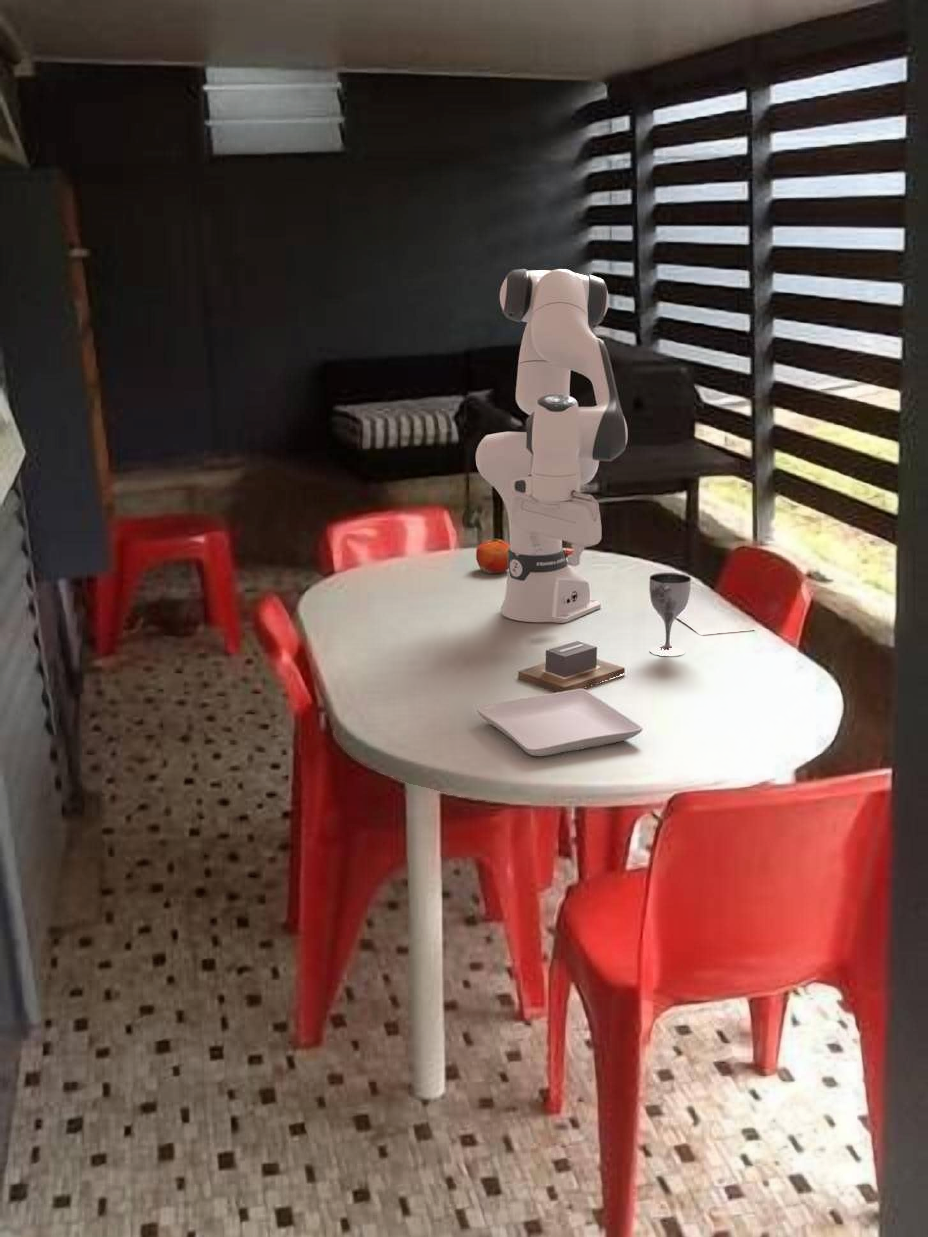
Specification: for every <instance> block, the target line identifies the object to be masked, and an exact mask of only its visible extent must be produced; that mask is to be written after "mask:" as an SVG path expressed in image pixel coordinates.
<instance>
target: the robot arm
mask: <svg viewBox="0 0 928 1237" xmlns="http://www.w3.org/2000/svg"><path fill="white" fill-rule="evenodd" d="M608 292H609V291H608V287H607V284H606V282H605V281H604V279H602V278H601V277H597V276H595V275H592V274H588V275H584V274H582V273H581V274H580V273H577V272H573V271H571V270H570V269H565V268H564V269H563V268H558V269H557V268H556V269H552V270H544V269H540V270H538V269H537V270H535V269H533V270H532V269H531V270H528V269H526V268H522V269H521V268H520V269H513V270H511V271H510V272H509V273H507V275H505V279H504V281H503V282H502V285H501V287H500V291H499V302H500V306H501V309H502V314H504V316H505V317H506V319H508V320H511V321H513V322H517V323H521V322H524V323H526V326H525V328H524V331H523V335H522V339H521V343H520V344H521V345H520V349H519V355H518V364H517V375H516V386H515V402H516V404H517V405H518V408H519V409H520V410H521V411H522V412H524V413H526V414H527V415H528V417H527V419H526V420H525V430H526V431H503V432H496V433H491V434H486V435H484V437H483V438H482V439H481V441H480V442H479V443H478V445H477V448H476V451H475V463H476V464H475V465H476V467H477V470H478V472H479V474H480V476H481V477H482V478H483V479H484V480H485V481H487V482H488V483H489V484H490V485H491V486H492V487H493V488H494V489H495V491H496V492H497V493H498V494H499V495H500V497H501V499H502V501H503V503H504V505H505V508H506V512H507V516H508V525H509V527H508V528H509V545H510V548H509V549H508V555H507V558H508V568H509V569H508V570H507V571H508V572H507V577H506V578H507V579H506V587H505V588H506V589H505V594H504V600H503V601H502V608H501V614H502V616H504V617H505V618H508V619H510V620H514V621H517V622H519V621H520V622H526V623H558V624H560V623H562V624H564V623H568V622H571V621H572V620H575V619H578V618H580V617H583V616H584V615H587V614H589V613H592V612H594V611H596V610H599V609H601V608H602V607H601V603H600V601H598V599H595V598H592V597H591V592H590V584H589V582H588V580H587V579H586V578H585V577H584V576H583V575H581V574H580V573H579V572H577V570H575V569H573V567H577V566H579V565H580V563H581V555H582V554H583V551H584V550H585V548H589V547H592V546H595V545H598V544H599V543H600V541H601V540H602V521H601V512H600V505H599V502H597V500H596V498H594V496H593V495H592V494H590V493H583V492H581V485H586V484H589V483H590V481H592V480H593V478H594V477H595V476H596V473H597V472H598V468H599V465H600V464H599V463H600V462H601V461H603V462H612V461H613V460H615V459H616V458H618V457H619V456H620V455H621V454H622V453H623V452H625V450H626V447H627V443H628V438H629V436H628V435H629V433H628V431H629V430H628V425H627V422H626V419H625V418H626V417H625V416H624V414H623V409H622V407H621V402H620V399H619V395H618V389H617V386H616V385H617V384H616V381H615V375H614V372H613V367H612V363H611V359H610V355H609V351H608V348H607V346H606V344H605V341H604V340H603V339H601V338H599V337H597V336H596V335H595V334H594V333H593V331H592V330H593V329H595V328H596V327H597V326H599V324H601V323H602V322H603V320H604V317H605V316H606V313H607V311H608V308H609V301H610V298H609V293H608ZM571 371H573V372H575V373H578V374H579V375H580V374H581V375H583V376H584V377H586V378H587V379H589V381H590V382H591V384H592V388H593V393H594V397H595V402H596V405H594V406H579V403H578V401H577V400H576V398H574V397H572V396H570V394H571V392H570V388H571V387H570V386H571V385H570V384H571ZM563 541H564V542H567V543H570V544H571V549H570V548H566V549H564V548H563Z"/></svg>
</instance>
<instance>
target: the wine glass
mask: <svg viewBox="0 0 928 1237" xmlns="http://www.w3.org/2000/svg"><path fill="white" fill-rule="evenodd" d="M648 584H649V598H650V602H651V605H652V607H653V609H654V610H655V611H656V613H658V615H659V616H660V617H661V619H662V620H663V623H664V628H665V643H664V645H661V646H662V647H660V648H661V650H662V648H663V649H664V650H666V649H667V650H669V648H672V646H673V645H671V644H670V643H671V642H670V641H671V640H670V639H671V630H672V625H673V623H674V621H675V620H676V619H677V618H676V617H677V616H678V615H679V614H680V613H681V612H682V611H683V610H684V609H685V607H686V605H688V602H689V600H690V594H691V587H692V586H691V585H692V578H691V576H689V575H687V574H683V573H677V572H657V573H653V574H651V575H650V576H649V583H648Z"/></svg>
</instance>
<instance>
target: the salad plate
mask: <svg viewBox="0 0 928 1237" xmlns="http://www.w3.org/2000/svg"><path fill="white" fill-rule="evenodd" d="M475 710H476V712H477V713H478V715H479V716H480V718H481V719H483V720H485V721H486V722H487V723H489V725H491V726H492V727H494V728H496V729H497V730H498V731H500V732H501V733H502V734H504V735H506V737H508V738H510V739H511V740H512V742H514V743H516V744H517V745H518V746H519V747H520V748H521V749H522V750H523V751H525V752H526V754H528V755H531V756H534V757H547V756H550V755H551V756H552V755H557V754H561V752H563V753H567V752H566V751H569V752H572V751H571V750H575V751H578V750H577V749H580V750H583V749H582V748H586V749H589V748H588V747H591V748H594V747H593V746H596V747H599V746H598V745H601V746H604V745H603V744H606V745H609V744H608V743H610V744H614V743H617V742H618V743H619V742H623V741H627V740H630V739H632V738H634V737H636V736H637V735H639V734H640V733H641V732H642V731H643V727H642V726H641V725H640V724H638V723H637V722H636V721H634V720H632V719H630V718H629V717H628V716H626V715H625V714H623V713H622V712H620V711H618V710H617V709H615V708H614V707H613V706H611V705H609V704H608V703H607V702H605V701H603V700H602V699H601V698H600V697H598V696H596V695H594V694H592V693H591V692H590V691H588V690H586V688H585V689H575V690H570V691H563V692H558V693H557V692H553V693H545V694H541V695H535V696H529V697H524V698H518V699H512V700H508V701H502V702H496V703H491V704H490V703H489V704H486V705H481V706H477V707H476V708H475ZM556 753H557V754H556Z"/></svg>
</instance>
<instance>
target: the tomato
mask: <svg viewBox="0 0 928 1237" xmlns="http://www.w3.org/2000/svg"><path fill="white" fill-rule="evenodd" d="M509 548H510V543H508V542H506V541H504V540H502V539H499V538H492V539H488V540H485V541H483V542H482V543H480V544H479V545H478V546H477V548H476V551H475V552H476V555H475V559H476V563H477V564H478V567H479V568H480V569H481V570H482V571H483V572H485V573H489V574H500V573H503V572H506V571H508V570H509V568H508V558H507V555H508V549H509Z"/></svg>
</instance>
